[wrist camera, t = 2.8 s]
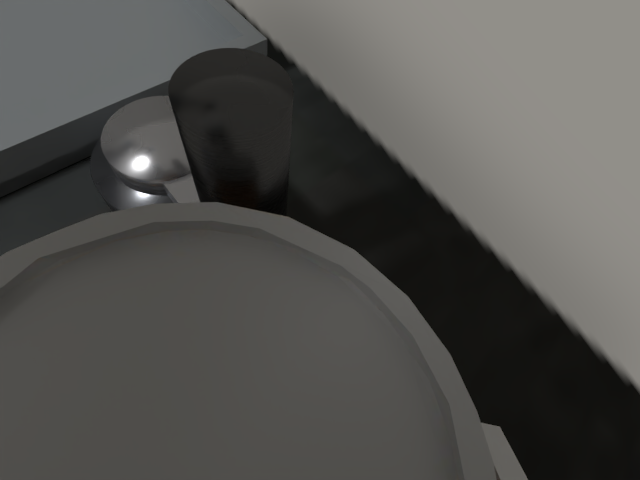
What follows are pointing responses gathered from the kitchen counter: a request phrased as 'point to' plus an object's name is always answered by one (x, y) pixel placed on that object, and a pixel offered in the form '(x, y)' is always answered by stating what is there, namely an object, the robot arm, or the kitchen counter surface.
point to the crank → (209, 133)
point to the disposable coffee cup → (221, 357)
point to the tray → (93, 70)
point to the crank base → (117, 185)
